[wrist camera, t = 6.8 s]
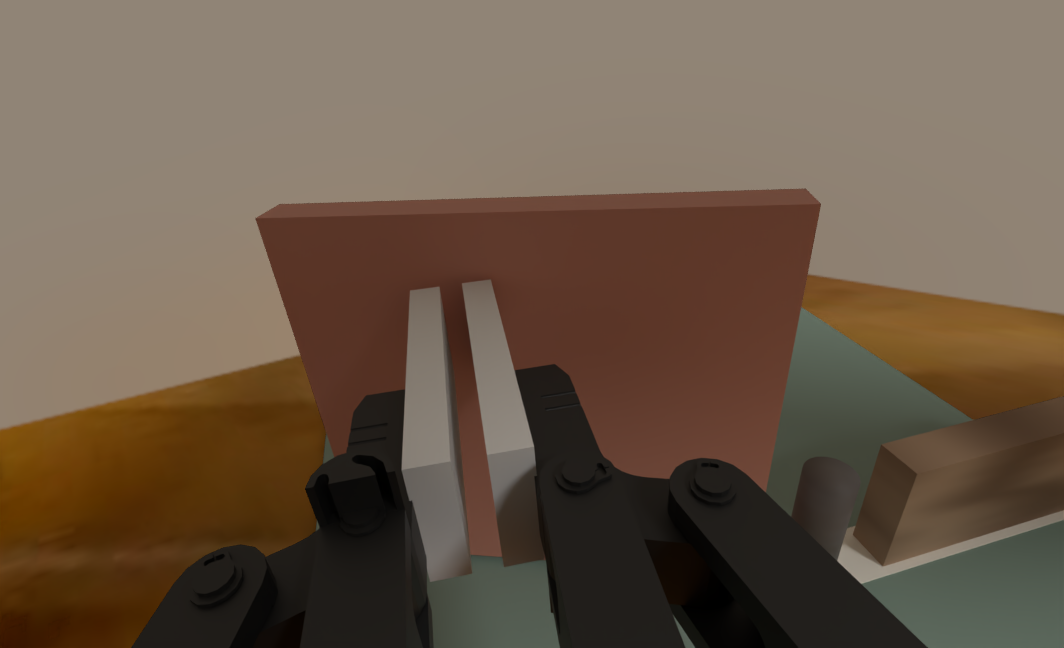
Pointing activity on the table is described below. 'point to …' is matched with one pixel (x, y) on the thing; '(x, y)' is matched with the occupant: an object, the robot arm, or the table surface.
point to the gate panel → (564, 313)
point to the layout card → (903, 587)
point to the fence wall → (941, 485)
